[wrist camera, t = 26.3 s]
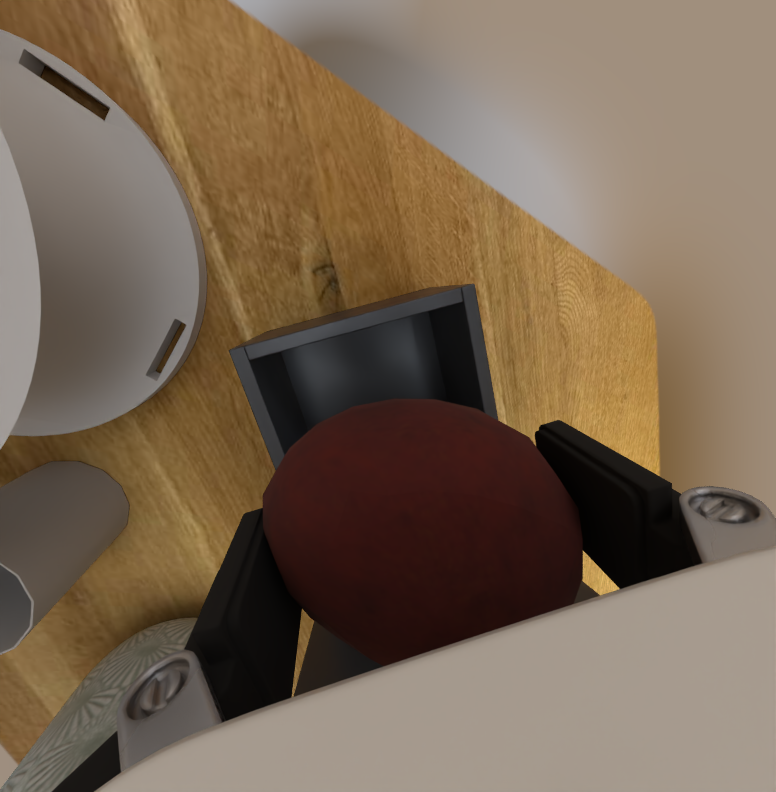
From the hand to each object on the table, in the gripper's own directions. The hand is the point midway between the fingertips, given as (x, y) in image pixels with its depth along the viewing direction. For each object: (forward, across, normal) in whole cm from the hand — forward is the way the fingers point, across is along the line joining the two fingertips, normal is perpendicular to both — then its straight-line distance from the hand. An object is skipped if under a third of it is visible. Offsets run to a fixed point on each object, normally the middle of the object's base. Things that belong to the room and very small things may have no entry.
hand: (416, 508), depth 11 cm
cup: (+20, +26, +4) cm, 34 cm away
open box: (+20, 0, +3) cm, 20 cm away
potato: (+3, 0, 0) cm, 3 cm away
